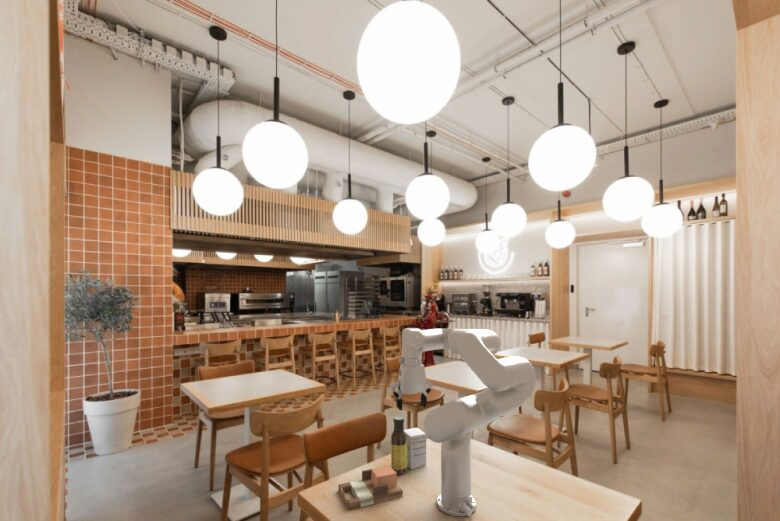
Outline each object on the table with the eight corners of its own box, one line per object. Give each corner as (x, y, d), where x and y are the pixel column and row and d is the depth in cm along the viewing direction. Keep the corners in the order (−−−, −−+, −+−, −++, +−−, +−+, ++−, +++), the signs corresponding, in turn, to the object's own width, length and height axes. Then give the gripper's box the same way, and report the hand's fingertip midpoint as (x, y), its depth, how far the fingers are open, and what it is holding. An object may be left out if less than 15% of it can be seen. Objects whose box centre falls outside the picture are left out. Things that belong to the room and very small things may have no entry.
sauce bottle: (410, 472, 139) (410, 418, 141) (397, 477, 136) (397, 422, 137) (400, 465, 145) (401, 414, 146) (387, 469, 141) (388, 417, 143)
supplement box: (401, 461, 148) (401, 429, 149) (417, 458, 151) (417, 426, 152) (410, 470, 141) (410, 436, 142) (426, 466, 144) (426, 433, 145)
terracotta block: (396, 486, 126) (396, 473, 126) (377, 491, 123) (377, 477, 123) (389, 478, 131) (389, 465, 132) (371, 482, 129) (371, 469, 129)
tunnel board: (402, 496, 123) (402, 481, 124) (348, 509, 116) (348, 493, 116) (388, 479, 134) (388, 465, 135) (338, 490, 127) (338, 475, 127)
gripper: (394, 365, 131) (393, 413, 130) (436, 361, 137) (436, 408, 136) (386, 360, 138) (386, 407, 137) (427, 358, 144) (427, 402, 143)
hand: (411, 407), depth 137 cm, fingers open, 9 cm apart
